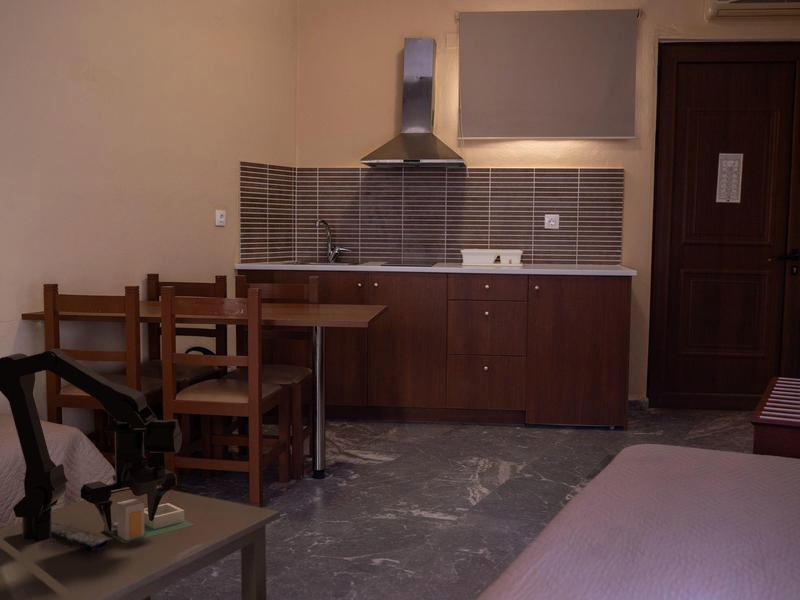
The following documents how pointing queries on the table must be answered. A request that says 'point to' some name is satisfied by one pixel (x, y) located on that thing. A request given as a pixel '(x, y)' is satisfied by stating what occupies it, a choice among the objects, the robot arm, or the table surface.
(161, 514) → the header board
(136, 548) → the table surface
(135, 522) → the plug
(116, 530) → the push button
